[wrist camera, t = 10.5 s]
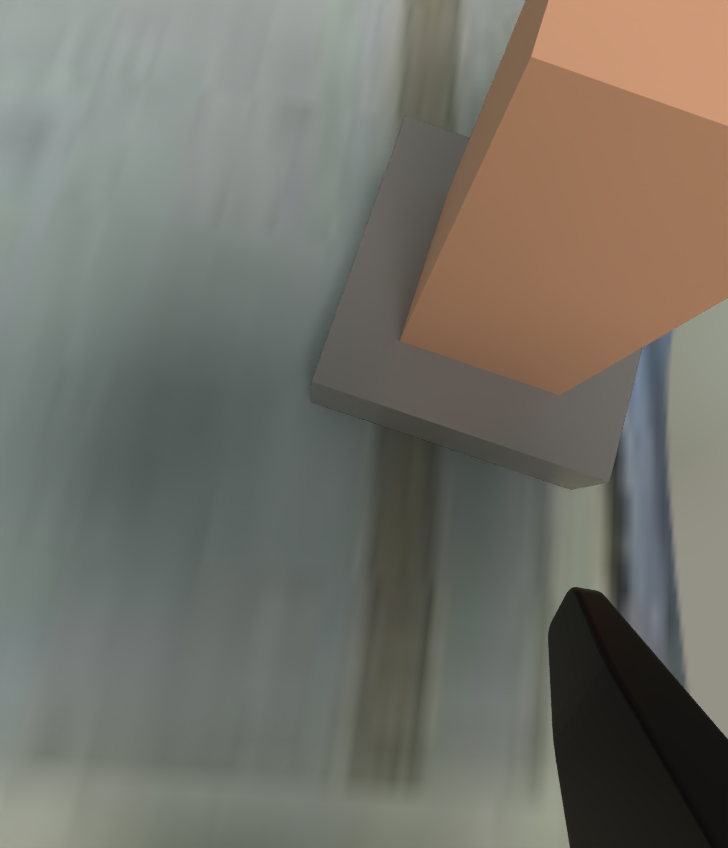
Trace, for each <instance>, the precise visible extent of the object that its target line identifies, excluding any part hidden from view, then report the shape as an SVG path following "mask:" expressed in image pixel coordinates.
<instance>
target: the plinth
mask: <svg viewBox="0 0 728 848" xmlns="http://www.w3.org/2000/svg"><path fill="white" fill-rule="evenodd" d="M469 139H470V138H468V137H465V136H462V135H459V134H457V133H454V132H451V131H448V130H445V129H442V128H439V127H437V126H434V125H431V124H428V123H425V122H422V121H420V120H417V119H414V118H411V117H408V116H405V118H404V121H403V124H402V127H401V130H400V132H399V135H398V138H397V141H396V144H395V147H394V149H393V152H392V155H391V158H390V161H389V164H388V166H387V169H386V172H385V175H384V178H383V180H382V183H381V186H380V189H379V192H378V195H377V197H376V200H375V203H374V206H373V209H372V212H371V214H370V217H369V220H368V223H367V226H366V229H365V231H364V234H363V237H362V240H361V243H360V246H359V248H358V251H357V254H356V257H355V260H354V263H353V265H352V268H351V271H350V274H349V277H348V279H347V282H346V285H345V288H344V291H343V294H342V296H341V299H340V302H339V305H338V308H337V311H336V313H335V316H334V319H333V322H332V325H331V328H330V330H329V333H328V336H327V339H326V342H325V345H324V347H323V350H322V353H321V356H320V359H319V362H318V364H317V367H316V370H315V373H314V376H313V378H312V381H311V402H313V403H316V404H319V405H322V406H325V407H328V408H331V409H334V410H337V411H340V412H343V413H346V414H349V415H352V416H355V417H358V418H361V419H364V420H367V421H370V422H372V423H375V424H378V425H381V426H384V427H387V428H390V429H393V430H396V431H399V432H402V433H405V434H408V435H411V436H414V437H417V438H420V439H423V440H426V441H429V442H432V443H435V444H438V445H441V446H444V447H447V448H450V449H453V450H455V451H458V452H461V453H464V454H467V455H470V456H473V457H476V458H479V459H482V460H485V461H488V462H491V463H494V464H497V465H500V466H503V467H506V468H509V469H512V470H515V471H518V472H521V473H524V474H527V475H530V476H533V477H535V478H538V479H541V480H544V481H547V482H550V483H553V484H556V485H559V486H562V487H565V488H568V489H571V490H573V489H578V488H583V487H588V486H593V485H598V484H603V483H608V482H609V481H610V477H611V473H612V469H613V465H614V461H615V457H616V453H617V449H618V445H619V441H620V437H621V433H622V429H623V425H624V421H625V417H626V413H627V408H628V404H629V400H630V396H631V392H632V388H633V384H634V380H635V376H636V372H637V368H638V364H639V360H640V356H641V352H642V348H643V347H642V348H640V349H639V350H637V351H635V352H634V353H632V354H630V355H628V356H627V357H625V358H623V359H622V360H620V361H618V362H616V363H615V364H613V365H611V366H609V367H608V368H606V369H604V370H603V371H601V372H599V373H597V374H596V375H594V376H592V377H591V378H589V379H587V380H585V381H584V382H582V383H580V384H579V385H577V386H575V387H573V388H572V389H570V390H568V391H566V392H565V393H563V394H561V395H558V394H555V393H552V392H549V391H546V390H543V389H540V388H537V387H534V386H531V385H528V384H525V383H522V382H519V381H516V380H513V379H510V378H507V377H504V376H501V375H498V374H495V373H492V372H489V371H486V370H484V369H481V368H478V367H475V366H472V365H469V364H466V363H463V362H460V361H457V360H454V359H451V358H448V357H445V356H442V355H439V354H436V353H433V352H430V351H427V350H424V349H421V348H418V347H415V346H412V345H410V344H407V343H404V342H401V341H400V338H401V335H402V332H403V329H404V326H405V323H406V320H407V316H408V313H409V310H410V307H411V304H412V301H413V298H414V295H415V292H416V289H417V286H418V283H419V280H420V276H421V273H422V270H423V267H424V264H425V261H426V258H427V255H428V252H429V249H430V246H431V243H432V240H433V236H434V233H435V230H436V227H437V224H438V221H439V218H440V215H441V212H442V209H443V206H444V203H445V200H446V196H447V194H448V191H449V189H450V186H451V184H452V181H453V179H454V176H455V174H456V171H457V169H458V166H459V164H460V161H461V159H462V156H463V154H464V151H465V149H466V147H467V144H468V142H469Z"/></svg>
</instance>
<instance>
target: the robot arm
mask: <svg viewBox="0 0 728 848" xmlns="http://www.w3.org/2000/svg"><path fill="white" fill-rule="evenodd" d="M548 648H549V668H550V688H551V708H552V727H553V741H554V749H555V756H556V763H557V770H558V776H559V782H560V788H561V795H562V801H563V807H564V813H565V820H566V826H567V832H568V838H569V845H570V848H728V739H727V738H726V737H725V735H724V734H723V733H722V732H721V731H720V730H719V728H718V727H717V726H716V725H715V724H714V723H713V721H712V720H711V719H710V718H709V717H708V716H707V714H706V713H705V712H704V711H703V710H702V709H701V707H700V706H699V705H698V704H697V703H696V702H695V700H694V699H693V698H692V697H691V696H690V695H689V693H688V692H687V691H686V690H685V689H684V688H683V686H682V685H681V684H680V683H679V682H678V681H677V679H676V678H675V677H674V676H673V675H672V674H671V672H670V671H669V670H668V669H667V668H666V667H665V665H664V664H663V663H662V662H661V661H660V660H659V658H658V657H657V656H656V655H655V654H654V653H653V651H652V650H651V649H650V648H649V647H648V646H647V644H646V643H645V642H644V641H643V640H642V639H641V637H640V636H639V635H638V634H637V633H636V632H635V631H634V629H633V628H632V627H631V626H630V625H629V624H628V622H627V621H626V620H625V619H624V618H623V617H622V615H621V614H620V613H619V612H618V611H617V610H616V608H615V607H614V606H613V605H612V604H611V603H610V601H609V600H608V599H607V598H606V597H605V596H604V595H603V594H602V593H601V592H599V591H595V590H590V589H584V588H579V587H573V588H571V589H570V590H569V591H568V592H567V594H566V595H565V597H564V599H563V601H562V603H561V605H560V607H559V608H558V610H557V612H556V614H555V616H554V618H553V620H552V622H551V624H550V627H549V632H548Z"/></svg>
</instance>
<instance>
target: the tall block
mask: <svg viewBox="0 0 728 848" xmlns="http://www.w3.org/2000/svg"><path fill="white" fill-rule="evenodd" d="M726 298H728V0H526V1H525V3H524V6H523V8H522V11H521V13H520V16H519V18H518V20H517V23H516V25H515V28H514V30H513V33H512V35H511V38H510V40H509V43H508V45H507V48H506V50H505V53H504V55H503V58H502V60H501V63H500V65H499V67H498V70H497V72H496V75H495V77H494V80H493V82H492V85H491V87H490V90H489V92H488V95H487V97H486V100H485V102H484V105H483V107H482V109H481V112H480V114H479V117H478V119H477V122H476V124H475V127H474V129H473V132H472V134H471V137H470V139H469V142H468V144H467V147H466V149H465V151H464V154H463V156H462V159H461V161H460V164H459V166H458V169H457V171H456V174H455V176H454V179H453V181H452V184H451V186H450V189H449V191H448V194H447V196H446V200H445V203H444V206H443V209H442V212H441V215H440V218H439V221H438V224H437V227H436V230H435V233H434V236H433V240H432V243H431V246H430V249H429V252H428V255H427V258H426V261H425V264H424V267H423V270H422V273H421V276H420V280H419V283H418V286H417V289H416V292H415V295H414V298H413V301H412V304H411V307H410V310H409V313H408V316H407V320H406V323H405V326H404V329H403V332H402V335H401V338H400V341H401V342H404V343H407V344H410V345H412V346H415V347H418V348H421V349H424V350H427V351H430V352H433V353H436V354H439V355H442V356H445V357H448V358H451V359H454V360H457V361H460V362H463V363H466V364H469V365H472V366H475V367H478V368H481V369H484V370H486V371H489V372H492V373H495V374H498V375H501V376H504V377H507V378H510V379H513V380H516V381H519V382H522V383H525V384H528V385H531V386H534V387H537V388H540V389H543V390H546V391H549V392H552V393H555V394H558V395H561V394H563V393H565V392H566V391H568V390H570V389H572V388H573V387H575V386H577V385H579V384H580V383H582V382H584V381H585V380H587V379H589V378H591V377H592V376H594V375H596V374H597V373H599V372H601V371H603V370H604V369H606V368H608V367H609V366H611V365H613V364H615V363H616V362H618V361H620V360H622V359H623V358H625V357H627V356H628V355H630V354H632V353H634V352H635V351H637V350H639V349H640V348H642V347H644V346H646V345H647V344H649V343H651V342H653V341H654V340H656V339H658V338H659V337H661V336H663V335H665V334H666V333H668V332H670V331H671V330H673V329H675V328H677V327H678V326H680V325H682V324H683V323H685V322H687V321H689V320H690V319H692V318H694V317H695V316H697V315H699V314H701V313H702V312H704V311H706V310H708V309H709V308H711V307H713V306H714V305H716V304H718V303H719V302H721V301H723V300H725V299H726Z"/></svg>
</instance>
